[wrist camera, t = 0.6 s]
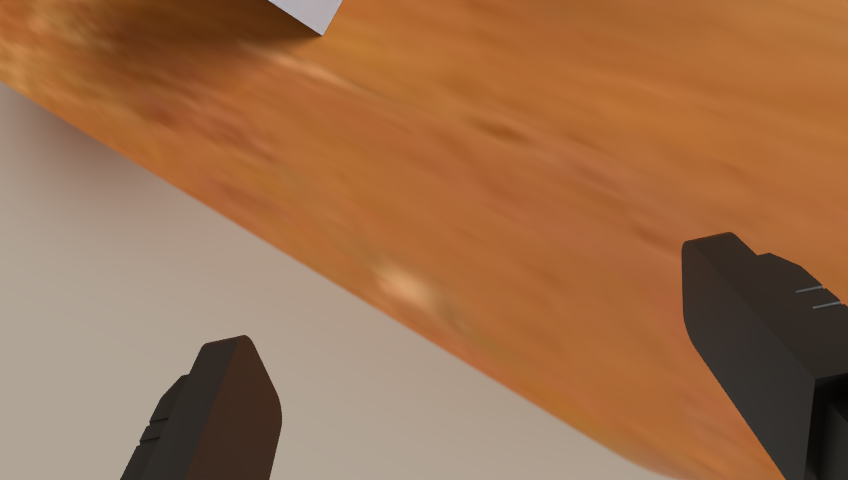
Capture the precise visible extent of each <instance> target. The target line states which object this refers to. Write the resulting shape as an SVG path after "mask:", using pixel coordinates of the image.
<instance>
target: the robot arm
mask: <svg viewBox="0 0 848 480" xmlns="http://www.w3.org/2000/svg"><path fill="white" fill-rule="evenodd" d="M682 293H683V316H684V322H685V326H686V329H687V332H688V335H689V337H690V340H691V342H692V344H693V345H694V347H695V349H696V350H697V351H698V353H699V354H700V356H701V357H702V359H703V360H704V362H705V363H706V364H707V366H708V367H709V369H710V370H711V372H712V373H713V375H714V376H715V377H716V379H717V380H718V382H719V383H720V385H721V386H722V388H723V389H724V391H725V392H726V393H727V395H728V396H729V398H730V399H731V401H732V402H733V404H734V405H735V406H736V408H737V409H738V411H739V412H740V414H741V415H742V417H743V418H744V419H745V421H746V422H747V424H748V425H749V427H750V428H751V430H752V431H753V433H754V434H755V435H756V437H757V438H758V440H759V441H760V443H761V444H762V446H763V447H764V448H765V450H766V451H767V453H768V454H769V456H770V457H771V459H772V460H773V461H774V463H775V464H776V466H777V467H778V469H779V470H780V472H781V473H782V475H783V476H784V477H785V479H786V480H848V307H847V306H846V305H845V304H843V305H842V304H841V303H840V300H839V299H838V298H837V297H836V296H835V295H833V294H832V293H831V292H830V291H829V290H828V289H827V288H825V289H823V287H822V284H821V283H820V282H818V281H817V280H816V279H815V278H814V277H813V276H811V275H810V274H809V273H808V272H807V271H806V270H805V269H803V268H802V267H801V266H799V265H797V264H795V263H792V262H790V261H788V260H785V259H783V258H781V257H778V256H776V255H774V254H771V253H767V254H762V255H756V254H755V253H754V252H753V251H752V250H751V249H750V248H749V247H748V246H747V245H745V244H744V243H743V242H742V241H741V240H740V239H739V238H738V237H737V236H736V235H735V234H733V233H731V232H726V233H722V234H717V235H712V236H708V237H703V238H698V239H694V240H689V241H685V242H684V244H683V246H682ZM149 422H150V426H147V427H146V429H145V431H144V433H143V435H142V437H141V439H140V445H139V446H137V447H136V449H135V451H134V453H133V455H132V457H131V459H130V461H129V463H128V465H127V467H126V469H125V471H124V473H123V475H122V477H121V479H120V480H269V478H270V474H271V470H272V466H273V461H274V457H275V453H276V448H277V444H278V439H279V436H280V431H281V426H282V412H281V405H280V401H279V397H278V395H277V393H276V390H275V388H274V386H273V384H272V382H271V380H270V378H269V376H268V373H267V371H266V369H265V367H264V365H263V363H262V361H261V359H260V357H259V354H258V352H257V350H256V348H255V346H254V344H253V342H252V341H251V339H250V338H249V337H248V336H246V335H242V336H237V337H233V338H229V339H223V340H219V341H214V342H210V343H206V344H204V345H203V346H202V348H201V350H200V352H199V354H198V356H197V358H196V360H195V362H194V365H193V367H192V369H191V371H190V373H189V374H188V375H183V376H181V377H180V378H179V379H178V380H177V381H176V383H174V384H173V386H172V387H171V388H170V389H169V390H168V391H167V392H166V393H165V394H164V395H163V396H162V397H161V399H160V401H159V403H158V405H157V407H156V409H155V411H154V413H153V415H152V417H151V419H150V421H149Z"/></svg>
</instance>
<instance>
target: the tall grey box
mask: <svg viewBox="0 0 848 480" xmlns="http://www.w3.org/2000/svg"><path fill="white" fill-rule="evenodd" d="M268 1H270V2H271V3H273V4H274V5H276V6H277V7H279V8H280V9H282V10H283V11H285V12H287V13H288V14H290V15H291V16H293V17H294V18H296V19H297V20H299V21H300V22H302V23H303V24H305V25H307V26H308V27H310V28H311V29H313V30H314V31H316V32H317V33H319V34H320V35H322V36H323V34H324V33H325V31H326V29H327V27H328V25H329V24H330V22H331V20H332V18H333V17H334V15H335V13H336V11H337V10H338V8H339V6H340V4H341V2H342V1H343V0H268Z"/></svg>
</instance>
